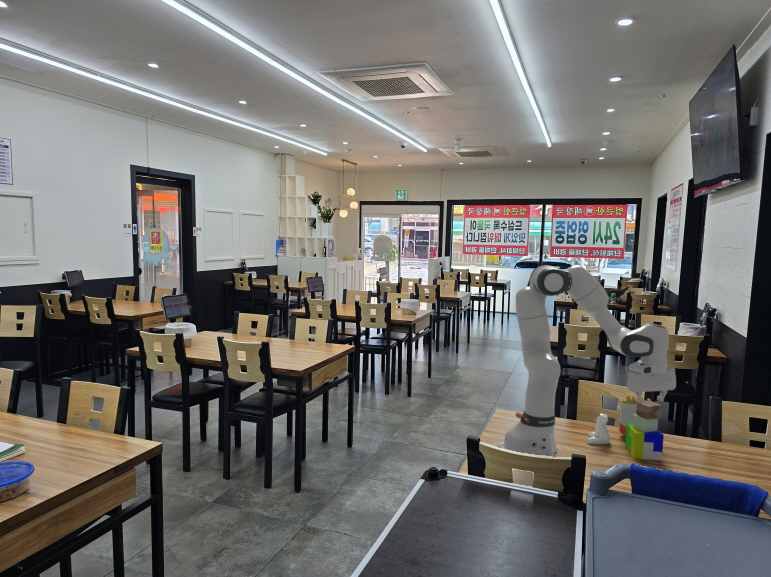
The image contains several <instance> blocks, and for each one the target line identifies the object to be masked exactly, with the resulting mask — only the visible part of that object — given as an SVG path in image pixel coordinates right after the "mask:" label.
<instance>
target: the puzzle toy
mask: <svg viewBox="0 0 771 577" xmlns="http://www.w3.org/2000/svg"><path fill="white" fill-rule="evenodd" d="M632 426H633V424H628V423H627V431H626V437H625V449H626V450H627V452H628V451H629V452H628V453H629V454H630V456H631V455H632V456H631V457H632V458H633V459H636V458H639V459H638V460H650V461H661V462H662V461H663V453H664V436H665V435H664V434H663V432H661V430H659V428H658V429H657V431H653V432H642V431H640V430H638V429H636V428H634V427H632Z"/></svg>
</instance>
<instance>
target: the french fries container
mask: <svg viewBox="0 0 771 577" xmlns="http://www.w3.org/2000/svg"><path fill="white" fill-rule="evenodd" d="M644 401H651V399H650V398H646V400H645V399H644ZM636 405H637V398H636V399H635V396H634V395H632V396H631V395H630V394H626V399H625V398H622V402H620V414H619V422H618V423H619V425H618V430H619V433H620V434H622V436H623V437H624V438H626V431H627V423H628V424H633V414H636Z"/></svg>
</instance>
